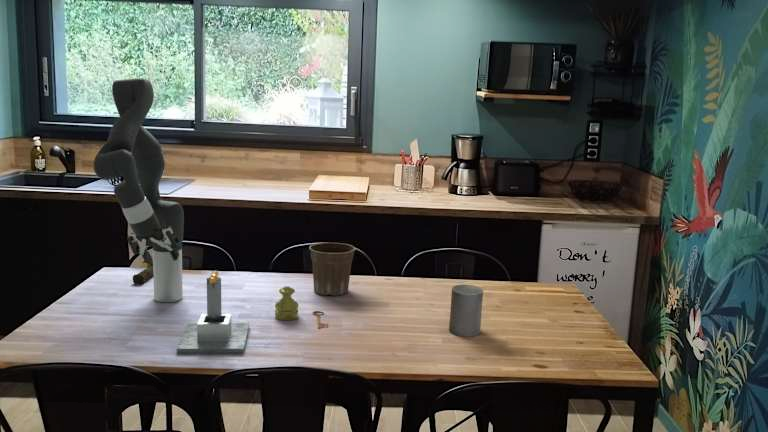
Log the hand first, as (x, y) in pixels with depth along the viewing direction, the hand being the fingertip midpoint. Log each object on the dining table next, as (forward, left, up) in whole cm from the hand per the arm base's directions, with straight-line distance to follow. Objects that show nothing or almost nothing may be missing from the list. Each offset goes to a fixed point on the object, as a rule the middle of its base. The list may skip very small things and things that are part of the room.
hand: (163, 261), depth 214 cm
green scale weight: (-11, +36, -21) cm, 43 cm away
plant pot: (-38, +51, -21) cm, 67 cm away
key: (-8, +47, -22) cm, 52 cm away
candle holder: (+9, +16, -21) cm, 28 cm away
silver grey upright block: (+9, +15, -20) cm, 27 cm away
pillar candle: (+2, +91, -21) cm, 93 cm away
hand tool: (-54, -16, -22) cm, 61 cm away
